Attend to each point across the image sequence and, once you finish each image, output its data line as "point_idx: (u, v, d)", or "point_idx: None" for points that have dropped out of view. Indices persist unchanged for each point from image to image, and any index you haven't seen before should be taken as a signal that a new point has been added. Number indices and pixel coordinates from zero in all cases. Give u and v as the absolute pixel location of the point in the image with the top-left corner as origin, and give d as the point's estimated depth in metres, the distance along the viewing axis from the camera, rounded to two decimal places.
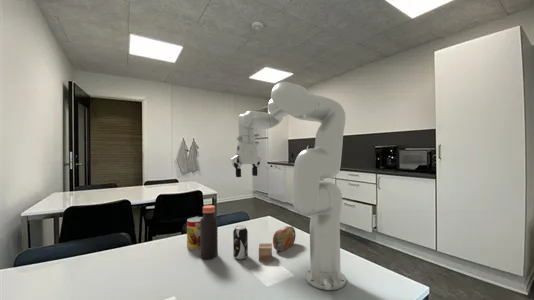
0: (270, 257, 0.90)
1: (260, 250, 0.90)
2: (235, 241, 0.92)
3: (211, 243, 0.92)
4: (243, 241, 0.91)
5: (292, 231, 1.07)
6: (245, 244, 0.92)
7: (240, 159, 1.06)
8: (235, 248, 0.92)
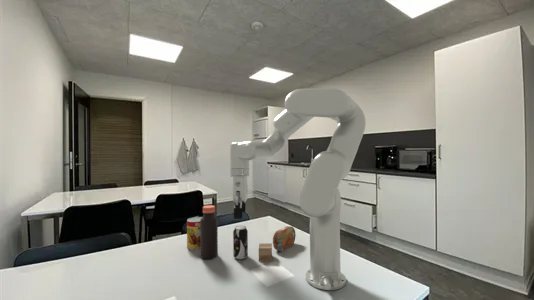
0: (270, 257, 0.90)
1: (260, 250, 0.90)
2: (235, 241, 0.92)
3: (211, 243, 0.92)
4: (243, 241, 0.91)
5: (292, 231, 1.07)
6: (245, 244, 0.92)
7: (242, 197, 0.89)
8: (235, 248, 0.92)
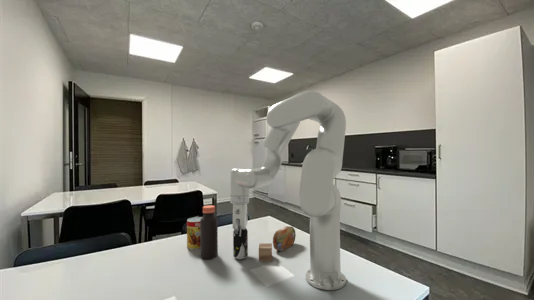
0: (270, 257, 0.90)
1: (260, 250, 0.90)
2: None
3: (211, 243, 0.92)
4: (243, 241, 0.91)
5: (292, 231, 1.07)
6: (245, 244, 0.92)
7: (242, 225, 0.89)
8: (235, 248, 0.92)
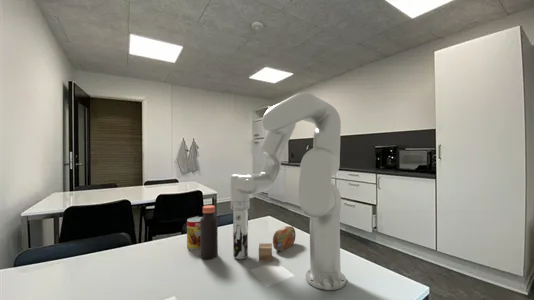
0: (270, 257, 0.90)
1: (260, 250, 0.90)
2: (235, 241, 0.92)
3: (211, 243, 0.92)
4: (243, 241, 0.91)
5: (292, 231, 1.07)
6: (245, 244, 0.92)
7: (243, 231, 0.89)
8: (235, 248, 0.92)
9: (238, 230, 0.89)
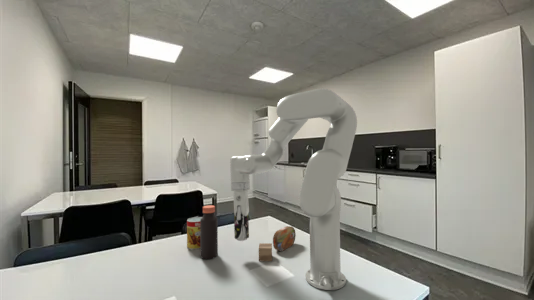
0: (270, 257, 0.90)
1: (260, 250, 0.90)
2: (236, 222, 0.92)
3: (211, 243, 0.92)
4: (244, 223, 0.91)
5: (292, 231, 1.07)
6: (246, 225, 0.92)
7: (244, 211, 0.89)
8: (236, 229, 0.91)
9: (239, 211, 0.89)
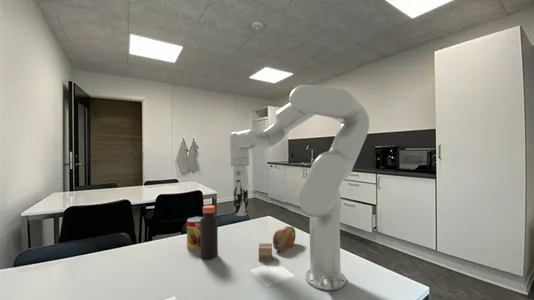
0: (270, 257, 0.90)
1: (260, 250, 0.90)
2: (235, 198, 0.92)
3: (211, 243, 0.92)
4: (243, 198, 0.92)
5: (292, 231, 1.07)
6: (245, 201, 0.92)
7: (243, 186, 0.89)
8: (235, 205, 0.92)
9: (238, 185, 0.89)
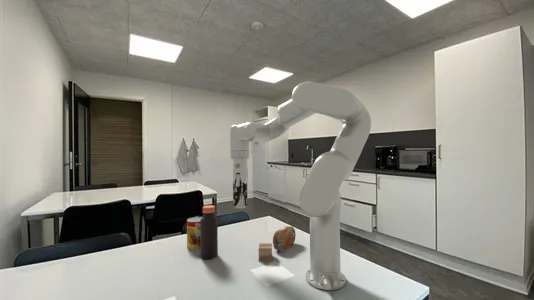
0: (270, 257, 0.90)
1: (260, 250, 0.90)
2: (235, 190, 0.92)
3: (211, 243, 0.92)
4: (243, 190, 0.92)
5: (292, 231, 1.07)
6: (245, 193, 0.92)
7: (243, 178, 0.89)
8: (235, 197, 0.92)
9: (238, 178, 0.89)
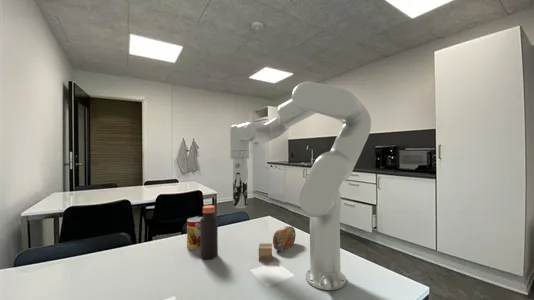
0: (270, 257, 0.90)
1: (260, 250, 0.90)
2: (235, 190, 0.92)
3: (211, 243, 0.92)
4: (243, 190, 0.92)
5: (292, 231, 1.07)
6: (245, 193, 0.92)
7: (243, 178, 0.89)
8: (235, 197, 0.92)
9: (238, 178, 0.89)
